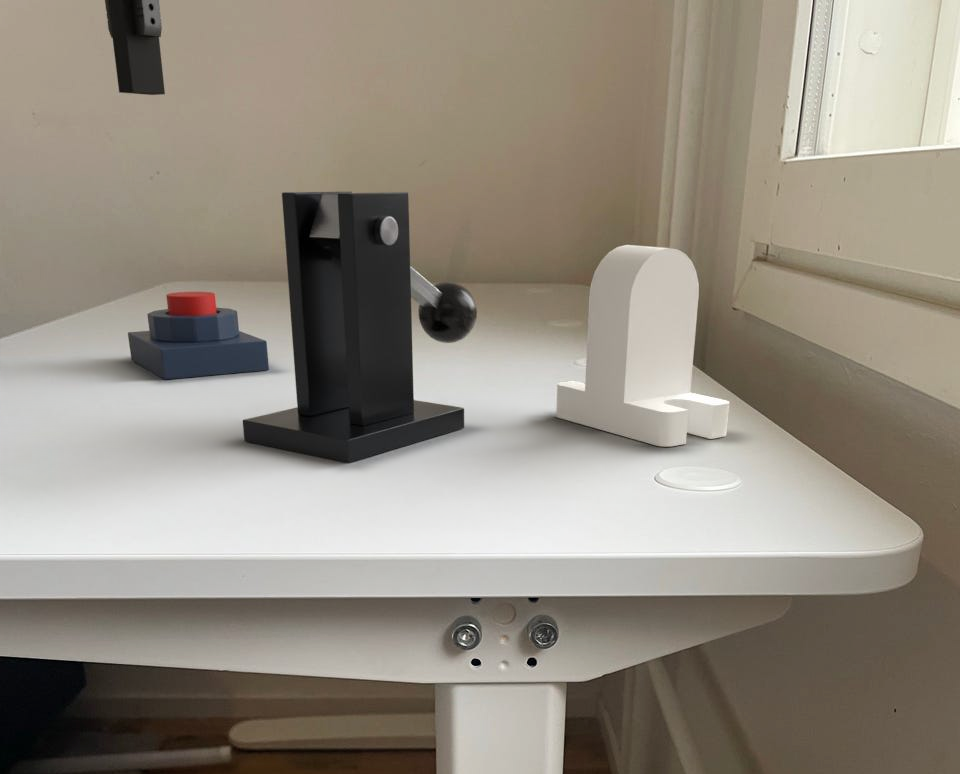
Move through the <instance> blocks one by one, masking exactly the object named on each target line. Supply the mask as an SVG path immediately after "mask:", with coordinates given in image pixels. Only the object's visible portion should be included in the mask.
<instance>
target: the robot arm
mask: <svg viewBox="0 0 960 774" xmlns="http://www.w3.org/2000/svg"><path fill="white" fill-rule="evenodd" d="M104 4H105V11H106V19H107V21H106V22H107V29H108V32H109V36H110V38H112V46H113V53H114V61H115V69H116V70H115V71H116V77H117V78H116V79H117V84H118V93H119V94H120V93H121V94H131V95H132V94H134V95H147V96H157V95H158V96H159V95H165V94H166V91H165V82H164V73H163V71H164V70H163V63H162V52H161V43H160V38H162V30H163V27H162V19H161V6H160V0H104Z"/></svg>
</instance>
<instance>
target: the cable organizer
mask: <svg viewBox="0 0 960 774" xmlns="http://www.w3.org/2000/svg"><path fill="white" fill-rule="evenodd" d="M697 272H698V271H697V269H696V268H695V265H694V263H693V261H692V260H691V258H690V257H689V256H688V255H687V254H686V253H685V252H683V251H681V250H679V249H678V248H672V247H660V246H646V245H635V244H625V245H620V246H617V247H615V248H614V249H612V250H610V251H608V253H607V254H605V255H604V257H603V258H602V259H601V260H600V262H599V264H598V265H597V267H596V269H595V270H594V273H593V276H592V279H591V282H590V287H589V295H588V314H587V316H588V317H587V335H586V336H587V337H586V358H585V359H586V360H585V382H581V381H576V380H569V381H562V382H557V383H556V407H555V408H556V411H555V413H556V414H555V417H556V418H557V419H558V418H559V419H560V420H561V419H562V420H565V421H569V422H572V423H576V424H579V425H582V426H586V427H589V428H593V429H596V430H599V431H604V432H608V433H611V434H615V435H618V436H621V437H624V438H629V439H632V440H635V441H639V442H642V443H646V444H650V445H653V446H657V447H665V448H667V447H676V446H681V445H686V444H687V435H688V434H690V435H694V436H697V437H702V438H705V439H710V440H713V439H718V438H724V437H726V436H727V432H728V431H727V430H728V428H727V427H728V421H729V411H730V401H729V400H726V399H722V398H717V397H712V396H707V395H705V394H699V393H695V392H691V389H692V388H691V387H692V378H693V377H692V376H693V368H694V367H693V366H694V356H695V355H694V353H695V344H696V342H695V341H696V332H697V319H698V308H699V298H700V297H699V296H700V294H699V293H700V291H699V289H700V288H699V287H700V286H699V277H698V273H697Z"/></svg>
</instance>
